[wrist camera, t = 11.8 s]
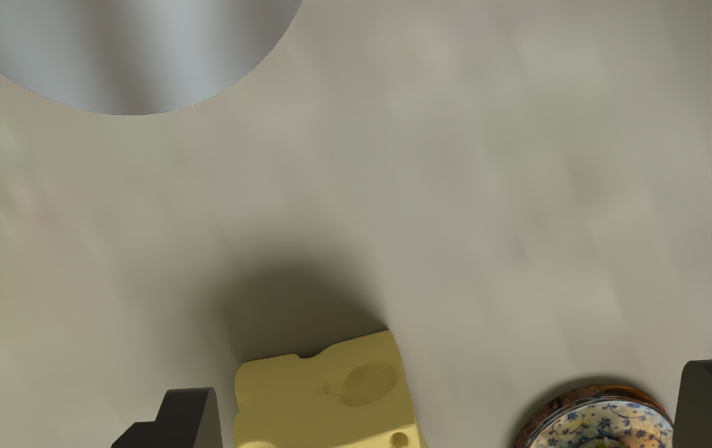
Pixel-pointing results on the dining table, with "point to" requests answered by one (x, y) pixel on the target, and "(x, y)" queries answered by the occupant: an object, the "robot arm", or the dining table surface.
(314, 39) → the dining table surface
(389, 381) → the cheese
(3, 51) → the lid
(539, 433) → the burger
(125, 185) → the dining table surface
